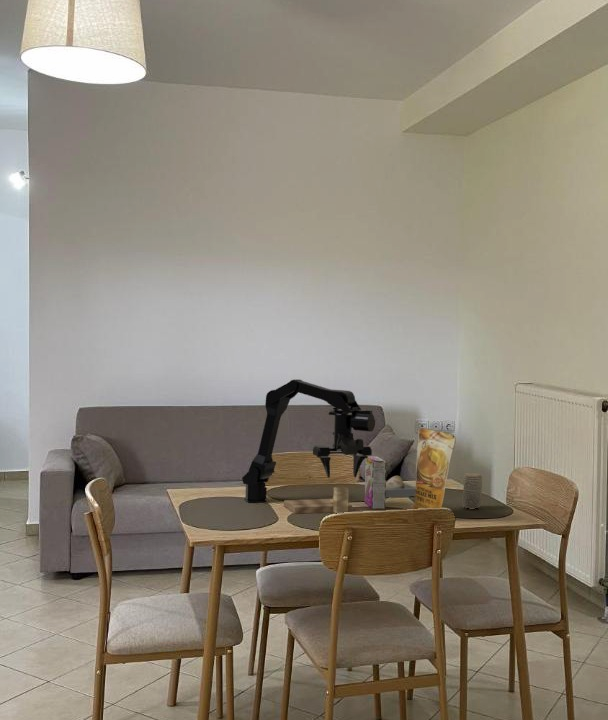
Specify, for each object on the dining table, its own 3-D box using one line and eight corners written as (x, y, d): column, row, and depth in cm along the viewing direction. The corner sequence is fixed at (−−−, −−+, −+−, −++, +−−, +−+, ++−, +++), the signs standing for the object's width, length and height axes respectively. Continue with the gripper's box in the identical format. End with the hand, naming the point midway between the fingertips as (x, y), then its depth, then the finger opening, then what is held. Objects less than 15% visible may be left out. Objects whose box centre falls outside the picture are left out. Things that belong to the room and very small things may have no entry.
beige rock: (372, 494, 310) (382, 470, 313) (395, 506, 311) (405, 481, 314) (378, 493, 303) (389, 468, 306) (402, 505, 304) (412, 480, 307)
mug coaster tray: (381, 498, 302) (382, 489, 302) (366, 491, 315) (366, 483, 315) (419, 496, 306) (419, 488, 306) (402, 490, 320) (403, 482, 320)
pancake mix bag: (423, 509, 283) (426, 426, 283) (455, 521, 266) (458, 433, 265) (406, 510, 281) (408, 427, 280) (437, 522, 263) (439, 433, 263)
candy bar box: (363, 502, 292) (364, 456, 291) (377, 502, 292) (378, 456, 292) (371, 509, 281) (372, 460, 280) (385, 509, 281) (387, 460, 281)
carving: (460, 509, 285) (461, 474, 285) (464, 505, 292) (465, 471, 292) (479, 511, 283) (480, 476, 282) (482, 507, 290) (483, 473, 289)
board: (294, 513, 270) (294, 507, 270) (283, 506, 281) (283, 500, 281) (352, 511, 276) (352, 505, 276) (339, 504, 288) (339, 498, 288)
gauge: (336, 513, 271) (337, 488, 270) (326, 508, 279) (327, 484, 279) (347, 513, 272) (348, 488, 272) (338, 507, 280) (338, 483, 280)
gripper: (324, 432, 262) (323, 482, 262) (379, 431, 267) (378, 480, 268) (312, 428, 272) (311, 476, 272) (365, 428, 278) (364, 474, 278)
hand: (341, 477), depth 272 cm, fingers open, 9 cm apart
